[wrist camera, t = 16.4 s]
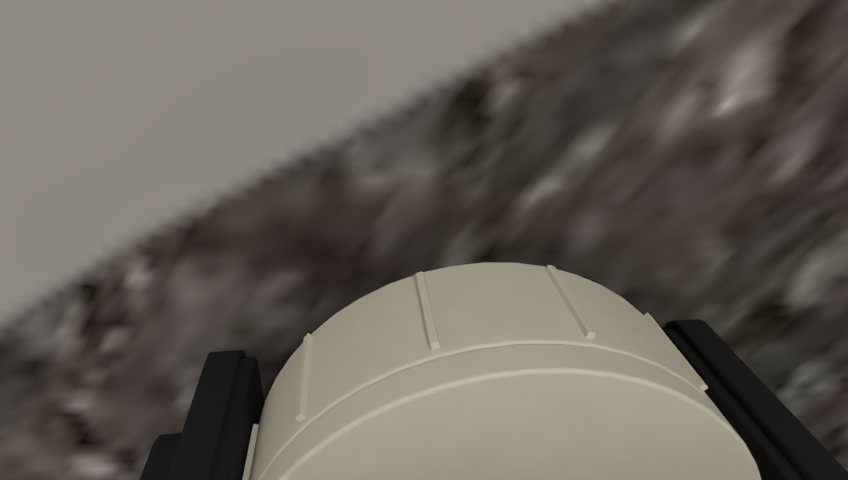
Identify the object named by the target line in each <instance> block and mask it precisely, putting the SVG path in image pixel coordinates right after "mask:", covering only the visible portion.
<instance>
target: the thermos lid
mask: <svg viewBox="0 0 848 480" xmlns="http://www.w3.org/2000/svg"><path fill="white" fill-rule="evenodd" d="M707 388H708V386H707V385H706V384H705V383H704V381H703V380H702V379H701V378H700V376H699V375H698V374H697V373H696V371H695V370H694V369H693V368H692V366H691V365H690V364H689V363H688V361H687V360H686V359H685V358H684V356H683V355H682V354H681V353H680V351H679V350H678V349H677V348H676V346H675V345H674V344H673V343H672V341H671V340H670V339H669V338H668V336H667V335H666V334H665V333H664V331H663V330H662V329H661V328H660V326H659V325H658V324H657V323H656V321H655V320H654V319H653V318H652V317H651V315H650V314H649V313H646V314H644V315H643V314H642V313H640V312H639V311H638V310H637V309H636V308H634V307H633V306H632V305H631V304H630V303H628V302H627V301H626V300H625V299H624V298H622V297H620V296H619V295H617V294H615V293H614V292H612V291H610V290H609V289H607V288H605V287H604V286H602V285H600V284H597V283H595V282H593V281H590V280H588V279H585V278H583V277H581V276H578V275H576V274H572V273H568V272H565V271H561V270H557V269H556V268H555V267H554V266H551V265H547V267H545V266H537V265H529V264H522V263H488V262H484V263H475V264H465V265H456V266H449V267H445V268H441V269H436V270H432V271H427V272H423V271H422V272H418V273H416V275H413V276H410V277H408V278H405V279H402V280H399V281H396V282H393V283H390V284H388V285H386V286H384V287H382V288H380V289H378V290H376V291H374V292H371V293H369V294H367V295H365V296H363V297H361V298H359V299H358V300H356V301H355V302H353V303H352V304H350V305H349V306H347V307H345V308H344V309H342V310H341V311H339V312H338V313H336V314H334V315H333V316H332V317H331V318H330V319H328V320H327V321H326V322H325V323H324V324H322V325H321V326H320V327H319V328H318V329H316V330H315V331H314V332H313V333H312V334H311V335H310V334H309V333H308V334H307V335H306V336H305V337H304V339H303V343H302V344H301V345H300V347H299V348H298V349H297V350H296V351H295V352H294V353H293V354H292V355H291V357H290V358H289V360H288V361H287V363H286V364H285V365H284V367H283V368H282V370H281V371H280V373H279V374H278V376H277V377H276V379H275V381H274V383H273V385H272V387H271V390H270V392H269V394H268V396H267V398H266V400H265V403H264V407H263V410H262V414H261V417H260V421H259V424H253V427H252V432H251V438H250V443H249V448H248V453H247V458H246V463H245V468H244V473H243V478H242V480H761V476H760V473H759V470H758V467H757V464H756V462H755V460H754V458H753V457H752V455H751V453H750V451H749V449H748V448H747V446H746V444H745V442H744V441H743V440H742V439H741V437H740V436H739V435H738V434H737V432H736V431H735V430H734V428H733V427H732V426H731V425H730V423H729V422H728V421H727V420H726V418H725V417H724V416H723V415H722V413H721V412H720V411H719V409H718V408H717V407H716V406H715V404H714V403H713V402H712V400H711V399H710V398H709V397H708V395H707V394H706V393H705V392H704V391H705V390H706V389H707Z"/></svg>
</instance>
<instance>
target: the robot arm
mask: <svg viewBox="0 0 848 480" xmlns="http://www.w3.org/2000/svg"><path fill="white" fill-rule="evenodd" d="M663 331H664V333H665V334H666V335H667V336H668V338H669V339H670V340H671V341H672V343H673V344H674V345H675V346H676V348H677V349H678V350H679V351H680V353H681V354H682V355H683V356H684V358H685V359H686V360H687V361H688V363H689V364H690V365H691V366H692V368H693V369H694V370H695V371H696V373H697V374H698V375H699V376H700V378H701V379H702V380H703V381H704V383H705V384H706V385H707V386H708V388H707V389H706V390H705V391H704V392H705V393H706V394H707V395H708V397H709V398H710V399H711V400H712V402H713V403H714V404H715V406H716V407H717V408H718V409H719V411H720V412H721V413H722V415H723V416H724V417H725V418H726V420H727V421H728V422H729V423H730V425H731V426H732V427H733V428H734V430H735V431H736V432H737V434H738V435H739V436H740V437H741V439H742V440H743V441H744V442H745V444H746V446H747V448H748V449H749V451H750V453H751V455H752V457H753V458H754V460H755V462H756V464H757V467H758V470H759V473H760V476H761V480H848V472H847V471H846V470H845V469H844V468H843V467H842V466H841V465H840V464H839V463H838V462H837V460H836V459H835V458H834V457H833V456H832V455H831V454H830V453H829V452H828V451H827V450H826V449H825V448H824V447H823V446H822V445H821V444H820V443H819V442H818V440H817V439H816V438H815V437H814V436H813V435H812V434H811V433H810V432H809V431H808V430H807V429H806V428H805V427H804V426H803V425H802V424H801V423H800V421H799V420H798V419H797V418H796V417H795V416H794V415H793V414H792V413H791V412H790V411H789V410H788V409H787V408H786V407H785V406H784V405H783V404H782V403H781V401H780V400H779V399H778V398H777V397H776V396H775V395H774V394H773V393H772V392H771V391H770V390H769V389H768V388H767V387H766V386H765V385H764V384H763V383H762V381H761V380H760V379H759V378H758V377H757V376H756V375H755V374H754V373H753V372H752V371H751V370H750V369H749V368H748V367H747V366H746V365H745V364H744V362H743V361H742V360H741V359H740V358H739V357H738V356H737V355H736V354H735V353H734V352H733V351H732V350H731V349H730V348H729V347H728V346H727V345H726V344H725V342H724V341H723V340H722V339H721V338H720V337H719V336H718V335H717V334H716V333H715V332H714V331H713V330H712V329H711V328H710V327H709V326H708V325H707V324H706V323H705V322H704V321H703V320H699V319H697V320H682V321H671V322H668V323H667V327H666V329H665V330H663ZM263 407H264V403H263V396H262V389H261V383H260V376H259V369H258V363H257V359H256V358H246V356H245V353H244V351H243V350H238V351H223V352H210V353H209V354H208V356H207V359H206V362H205V365H204V368H203V371H202V374H201V377H200V380H199V383H198V386H197V389H196V392H195V395H194V398H193V401H192V404H191V407H190V410H189V413H188V416H187V419H186V422H185V425H184V428H183V431H182V433H178V434H165V435H160V436H159V437H158V438H157V439H156V440H155V442H154V444H153V446H152V449H151V452H150V454H149V457H148V460H147V462H146V465H145V467H144V470H143V473H142V475H141V478H140V480H242V478H243V473H244V468H245V463H246V458H247V453H248V448H249V443H250V438H251V432H252V427H253V424H259V421H260V417H261V414H262V410H263Z"/></svg>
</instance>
